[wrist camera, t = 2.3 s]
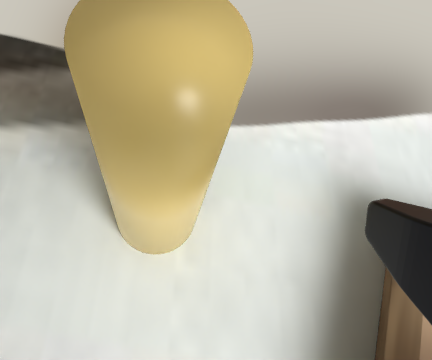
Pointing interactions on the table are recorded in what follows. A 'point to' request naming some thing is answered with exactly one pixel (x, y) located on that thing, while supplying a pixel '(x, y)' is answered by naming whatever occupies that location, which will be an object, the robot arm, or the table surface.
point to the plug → (157, 104)
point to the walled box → (401, 326)
